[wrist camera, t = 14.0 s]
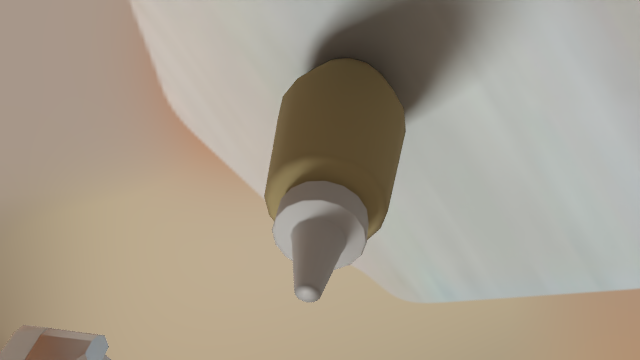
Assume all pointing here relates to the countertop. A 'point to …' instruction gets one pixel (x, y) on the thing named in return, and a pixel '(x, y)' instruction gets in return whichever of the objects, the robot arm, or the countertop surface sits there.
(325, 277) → the squeeze bottle
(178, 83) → the countertop surface
